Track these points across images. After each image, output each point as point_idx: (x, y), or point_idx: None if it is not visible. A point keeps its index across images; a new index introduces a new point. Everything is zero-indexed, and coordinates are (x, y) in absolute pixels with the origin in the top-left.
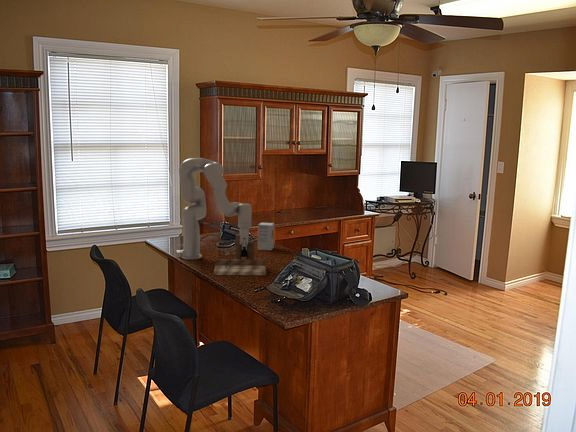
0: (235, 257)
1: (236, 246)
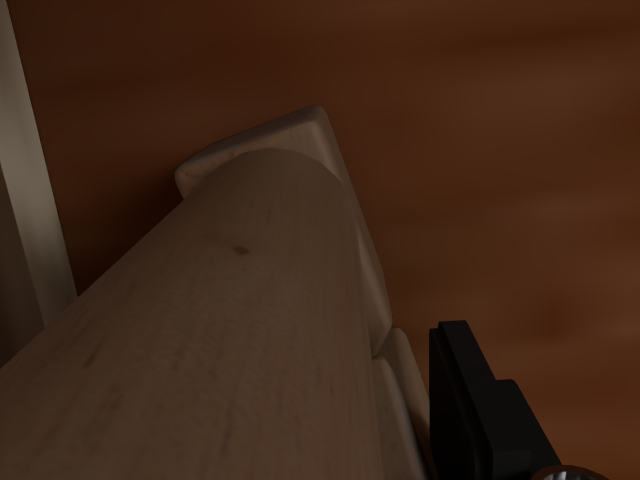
0: (251, 153)
1: (16, 359)
